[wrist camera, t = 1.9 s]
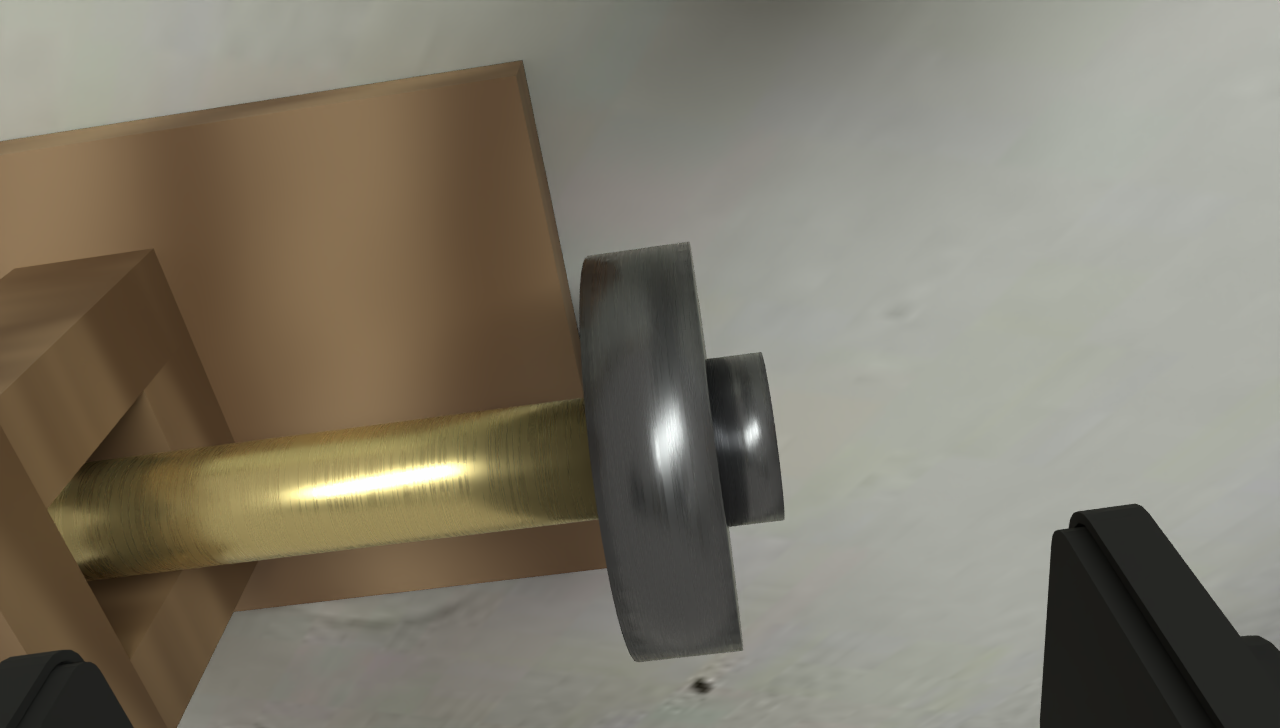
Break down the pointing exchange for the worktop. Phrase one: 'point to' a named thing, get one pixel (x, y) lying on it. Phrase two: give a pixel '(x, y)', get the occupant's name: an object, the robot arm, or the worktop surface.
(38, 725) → the robot arm
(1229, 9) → the worktop surface
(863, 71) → the worktop surface
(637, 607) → the brass peg with disc
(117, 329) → the eye post
